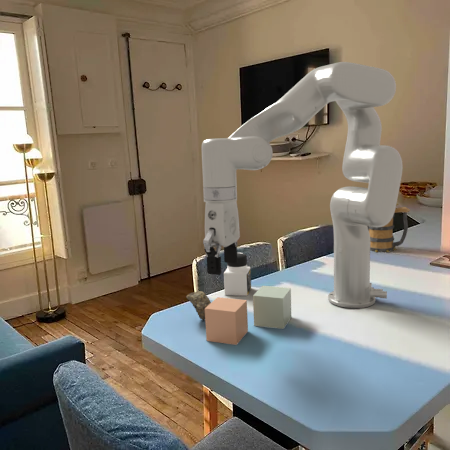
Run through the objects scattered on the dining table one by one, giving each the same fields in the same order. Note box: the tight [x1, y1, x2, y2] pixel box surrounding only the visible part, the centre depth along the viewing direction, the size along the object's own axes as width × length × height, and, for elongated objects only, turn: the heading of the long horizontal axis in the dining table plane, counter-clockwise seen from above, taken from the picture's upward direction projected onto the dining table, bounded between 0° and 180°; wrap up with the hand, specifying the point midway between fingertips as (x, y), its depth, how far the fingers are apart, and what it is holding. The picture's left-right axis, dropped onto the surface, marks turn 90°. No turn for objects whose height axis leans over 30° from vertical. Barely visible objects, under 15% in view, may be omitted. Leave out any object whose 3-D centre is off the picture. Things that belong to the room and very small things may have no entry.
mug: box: [367, 202, 411, 253], centre depth 172 cm, size 13×17×20 cm
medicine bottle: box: [223, 252, 252, 297], centre depth 135 cm, size 7×7×12 cm
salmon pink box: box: [204, 296, 249, 346], centre depth 105 cm, size 8×8×8 cm
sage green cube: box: [252, 285, 292, 330], centre depth 112 cm, size 8×8×8 cm
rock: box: [185, 290, 212, 322], centre depth 114 cm, size 7×8×4 cm
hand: (223, 268), depth 102 cm, fingers open, 9 cm apart
